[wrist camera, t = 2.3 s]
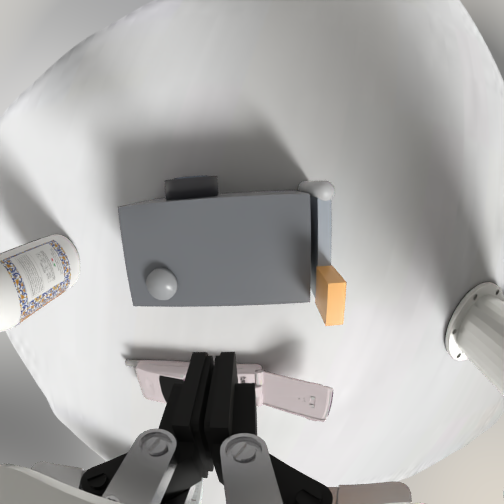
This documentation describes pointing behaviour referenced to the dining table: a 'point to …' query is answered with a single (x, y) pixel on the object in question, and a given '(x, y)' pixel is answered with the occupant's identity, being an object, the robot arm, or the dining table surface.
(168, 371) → the mobile phone
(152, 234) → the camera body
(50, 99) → the dining table surface
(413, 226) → the dining table surface
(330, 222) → the side door
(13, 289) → the bath foam
